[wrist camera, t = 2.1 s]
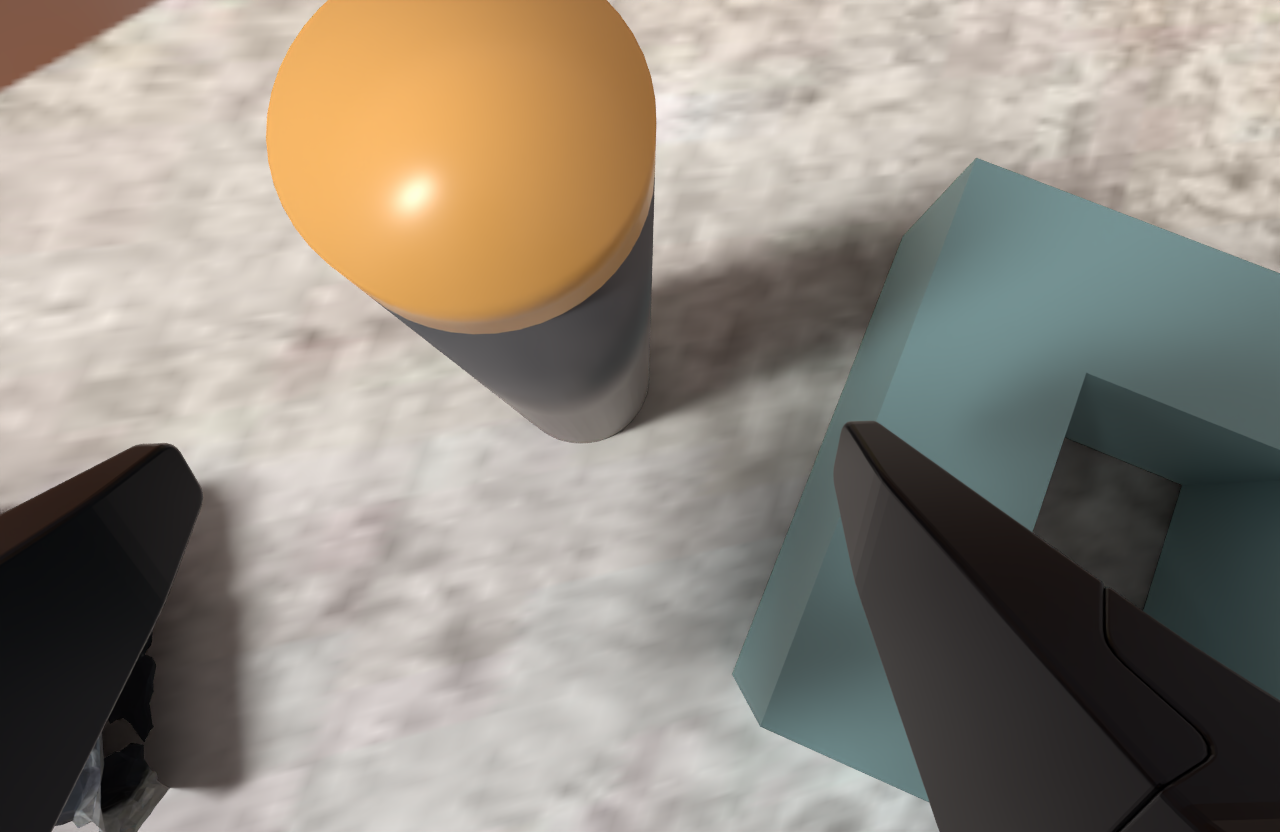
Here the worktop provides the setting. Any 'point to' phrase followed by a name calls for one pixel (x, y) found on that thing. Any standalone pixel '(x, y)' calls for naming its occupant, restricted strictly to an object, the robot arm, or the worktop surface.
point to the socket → (1041, 434)
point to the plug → (484, 188)
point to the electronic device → (120, 765)
